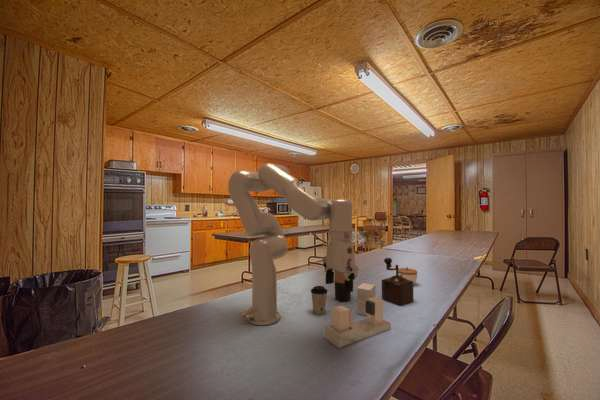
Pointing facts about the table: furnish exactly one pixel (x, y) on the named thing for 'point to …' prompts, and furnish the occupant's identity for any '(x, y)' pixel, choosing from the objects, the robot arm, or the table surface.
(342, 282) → the travel mug
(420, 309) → the table surface
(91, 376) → the table surface
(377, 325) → the rail
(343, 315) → the beige orange block
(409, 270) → the lidded jar
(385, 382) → the table surface
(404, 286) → the manual coffee grinder
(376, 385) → the table surface
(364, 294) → the small box
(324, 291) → the coffee cup
